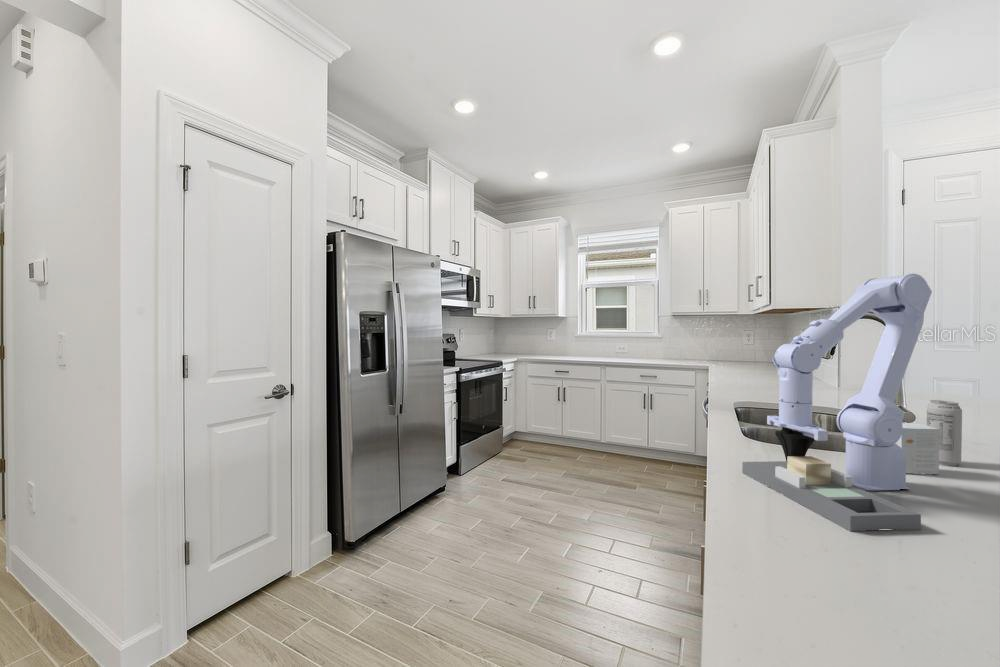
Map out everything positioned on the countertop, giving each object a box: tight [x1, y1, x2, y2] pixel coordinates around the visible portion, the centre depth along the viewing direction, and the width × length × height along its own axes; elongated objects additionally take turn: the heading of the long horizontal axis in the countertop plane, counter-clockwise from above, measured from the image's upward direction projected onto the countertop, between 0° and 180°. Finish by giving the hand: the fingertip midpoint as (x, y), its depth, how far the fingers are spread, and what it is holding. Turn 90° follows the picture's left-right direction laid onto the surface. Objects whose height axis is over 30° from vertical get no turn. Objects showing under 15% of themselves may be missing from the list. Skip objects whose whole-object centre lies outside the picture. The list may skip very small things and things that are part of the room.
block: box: [787, 455, 832, 485], centre depth 85 cm, size 5×5×4 cm
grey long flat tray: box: [741, 460, 922, 532], centre depth 83 cm, size 12×28×4 cm, turn 3°
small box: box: [895, 422, 940, 475], centre depth 99 cm, size 8×6×10 cm
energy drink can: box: [925, 399, 963, 467], centre depth 105 cm, size 6×6×15 cm
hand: (794, 466), depth 89 cm, fingers closed
